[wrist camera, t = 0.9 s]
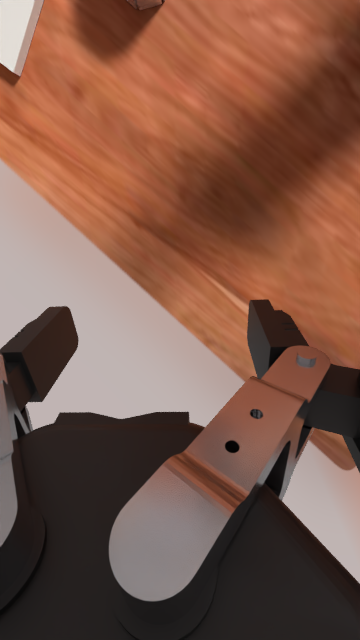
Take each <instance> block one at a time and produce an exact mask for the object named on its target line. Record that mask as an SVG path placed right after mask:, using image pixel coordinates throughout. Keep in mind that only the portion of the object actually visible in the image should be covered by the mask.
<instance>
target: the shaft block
mask: <svg viewBox="0 0 360 640" xmlns="http://www.w3.org/2000/svg"><path fill="white" fill-rule="evenodd" d="M43 2H44V0H0V63H1V64H3V65H4V66H5V67H7V68H8V69H9V70H11V71H12V72H13V73H15V74H17V75H19V76H21V73H22V70H23V67H24V63H25V60H26V57H27V54H28V50H29V47H30V44H31V41H32V37H33V34H34V31H35V28H36V24H37V21H38V18H39V15H40V11H41V8H42V5H43Z"/></svg>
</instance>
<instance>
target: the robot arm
mask: <svg viewBox="0 0 360 640" xmlns="http://www.w3.org/2000/svg"><path fill="white" fill-rule="evenodd" d="M247 339H248V346H249V349H250V353H251V356H252V360H253V363H254V367H255V370H256V374H257V377H258V378H257V377H254V376H252V377H250V378H249V379H248V380H247V381H246V382H245V383H244V385H243V386H242V387H241V388H240V389H239V390H238V391H237V392H236V393H235V395H234V396H233V397H232V398H231V399H230V400H229V401H228V402H227V404H226V405H225V406H224V407H223V408H222V409H221V410H220V411H219V413H218V414H217V415H216V416H215V417H214V418H213V419H212V421H211V422H210V423H209V424H208V425H207V426H206V427H203V426H200V425H197V424H194V423H190V422H189V412H155V413H150V414H145V415H141V416H136V417H131V418H126V419H116V418H113V417H108V416H104V415H100V414H95V413H89V412H88V413H87V412H86V413H60V414H59V415H58V417H57V419H56V421H55V423H53V424H49V425H46V426H43V427H41V428H38V429H35V430H33V429H32V424H31V420H30V417H29V412H28V410H27V408H26V406H25V405H26V404H27V403H28V402H42V401H43V400H44V398H45V397H46V395H47V394H48V392H49V391H50V389H51V388H52V386H53V384H54V383H55V382H56V380H57V379H58V377H59V375H60V374H61V372H62V371H63V369H64V368H65V366H66V365H67V363H68V362H69V360H70V358H71V357H72V356H73V354H74V353H75V351H76V349H77V347H78V336H77V332H76V328H75V325H74V321H73V318H72V314H71V311H70V309H69V308H68V307H65V306H62V307H49V308H47V309H46V310H45V311H44V312H43V313H42V314H41V315H40V316H39V317H38V318H37V319H35V320H34V321H32V322H30V323H28V324H27V325H26V326H25V327H24V328H23V329H22V330H21V332H18V333H17V335H15V337H13V338H12V339H11V340H10V341H9V342H8V343H7V344H6V345H4V346H3V347H2V348H1V349H0V640H360V584H359V583H358V581H357V580H356V579H355V578H354V577H353V576H352V575H351V574H350V573H349V572H348V571H347V570H346V569H345V568H344V567H343V566H342V565H341V563H340V562H339V561H338V560H337V559H336V558H335V557H334V556H333V555H332V554H331V553H330V552H329V551H328V550H327V549H326V547H325V546H324V545H323V544H322V543H321V542H320V541H319V540H318V539H317V538H316V537H315V536H314V535H313V534H312V533H311V532H310V531H309V529H308V528H307V527H306V526H305V525H304V524H303V523H302V522H301V521H300V520H299V519H298V518H297V517H296V516H295V515H294V513H293V512H292V511H291V510H290V509H289V508H288V507H287V506H286V505H285V504H284V503H283V502H282V499H283V497H284V495H285V492H286V490H287V488H288V485H289V482H290V479H291V476H292V474H293V471H294V469H295V466H296V464H297V462H298V460H299V458H300V456H301V454H302V452H303V450H304V448H305V446H306V444H307V442H308V440H309V438H310V436H311V434H312V432H313V430H314V428H317V429H321V430H325V431H329V432H333V433H337V434H340V435H342V436H343V438H344V440H345V442H346V444H347V447H348V449H349V451H350V453H351V455H352V457H353V459H354V462H355V464H356V466H357V468H358V470H359V472H360V370H359V369H353V368H348V367H342V366H337V365H334V364H331V361H330V358H329V357H328V356H327V355H326V354H325V353H324V352H322V351H320V350H318V349H316V348H313V347H309V345H308V343H307V342H306V340H305V339H304V337H303V335H302V334H301V332H300V331H299V330H298V327H297V326H296V324H295V323H294V321H293V319H292V318H291V316H289V315H288V314H286V313H285V312H283V311H282V310H275V311H274V309H273V307H272V305H271V303H270V301H269V300H250V303H249V315H248V330H247Z"/></svg>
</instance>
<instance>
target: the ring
mask: <svg viewBox="0 0 360 640" xmlns="http://www.w3.org/2000/svg"><path fill="white" fill-rule="evenodd" d="M126 1H128V2H129V3H130V4H131V5H132V6H133V7H134V8H135V9H137V7H139V10H144V9H147V8H151V7H154V6H158V5H161V4H162V1H161V0H126ZM164 1H165V0H164Z"/></svg>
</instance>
